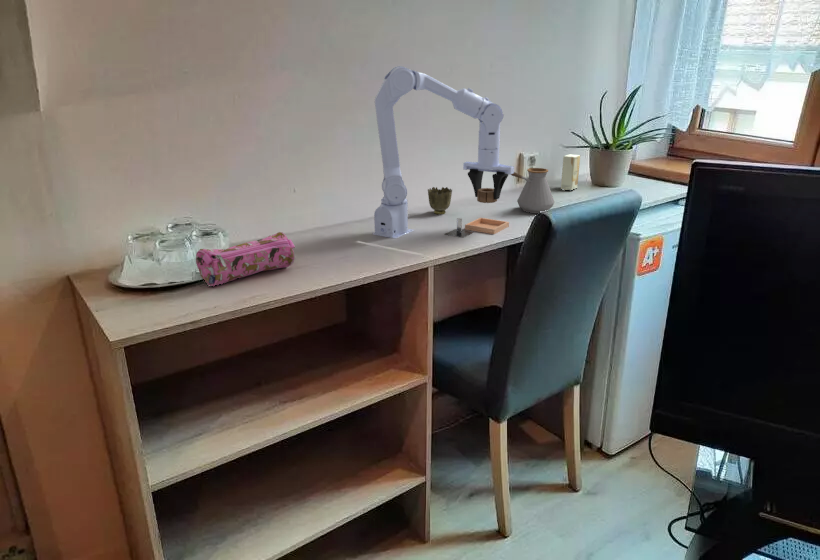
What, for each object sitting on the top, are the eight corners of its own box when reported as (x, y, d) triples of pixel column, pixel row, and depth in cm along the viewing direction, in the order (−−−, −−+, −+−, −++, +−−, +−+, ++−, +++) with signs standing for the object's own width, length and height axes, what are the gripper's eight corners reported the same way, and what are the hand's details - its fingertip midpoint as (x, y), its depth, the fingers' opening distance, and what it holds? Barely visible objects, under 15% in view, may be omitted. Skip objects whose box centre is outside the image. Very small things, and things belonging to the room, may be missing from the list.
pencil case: (212, 293, 133) (207, 254, 130) (195, 282, 139) (190, 244, 136) (299, 271, 146) (297, 234, 142) (280, 261, 152) (277, 226, 149)
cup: (452, 211, 195) (452, 186, 192) (451, 217, 188) (451, 191, 186) (428, 211, 196) (428, 186, 193) (426, 217, 189) (426, 191, 186)
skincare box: (571, 191, 220) (574, 157, 216) (560, 190, 222) (562, 156, 218) (577, 188, 225) (580, 154, 221) (566, 187, 227) (569, 153, 223)
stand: (463, 239, 167) (463, 222, 166) (444, 235, 171) (444, 219, 169) (473, 234, 172) (474, 217, 170) (455, 230, 175) (455, 214, 174)
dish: (494, 235, 170) (494, 229, 170) (464, 230, 175) (465, 224, 174) (508, 228, 177) (509, 221, 177) (480, 223, 182) (480, 217, 182)
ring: (491, 203, 170) (491, 193, 169) (474, 201, 172) (474, 190, 171) (499, 200, 174) (500, 189, 173) (483, 197, 176) (483, 187, 175)
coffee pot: (534, 204, 204) (537, 158, 198) (561, 211, 195) (565, 163, 189) (485, 214, 192) (487, 165, 187) (511, 222, 183) (514, 171, 178)
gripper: (519, 148, 167) (517, 197, 172) (472, 144, 175) (471, 191, 180) (508, 151, 162) (506, 202, 167) (459, 147, 169) (459, 196, 174)
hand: (487, 197), depth 173 cm, fingers closed on ring, 5 cm apart
